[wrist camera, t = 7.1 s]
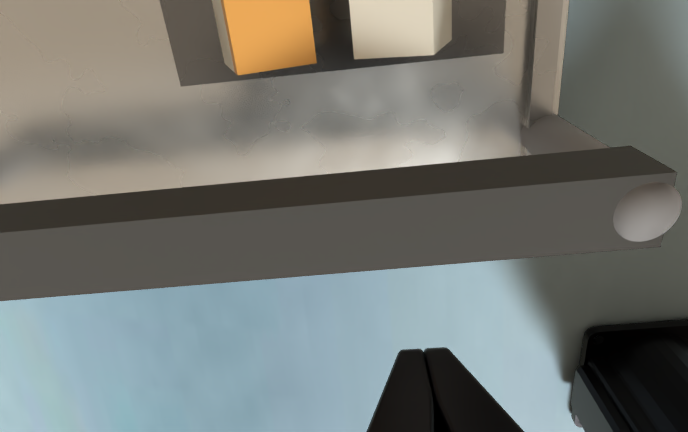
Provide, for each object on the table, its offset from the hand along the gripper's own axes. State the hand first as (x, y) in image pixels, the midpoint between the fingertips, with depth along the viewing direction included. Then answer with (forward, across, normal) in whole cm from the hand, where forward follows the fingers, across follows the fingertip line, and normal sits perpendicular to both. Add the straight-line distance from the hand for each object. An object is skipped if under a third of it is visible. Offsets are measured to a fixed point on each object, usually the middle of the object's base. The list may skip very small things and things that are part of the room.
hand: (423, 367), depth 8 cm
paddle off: (+10, +4, -6) cm, 12 cm away
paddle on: (+10, -1, -6) cm, 12 cm away
